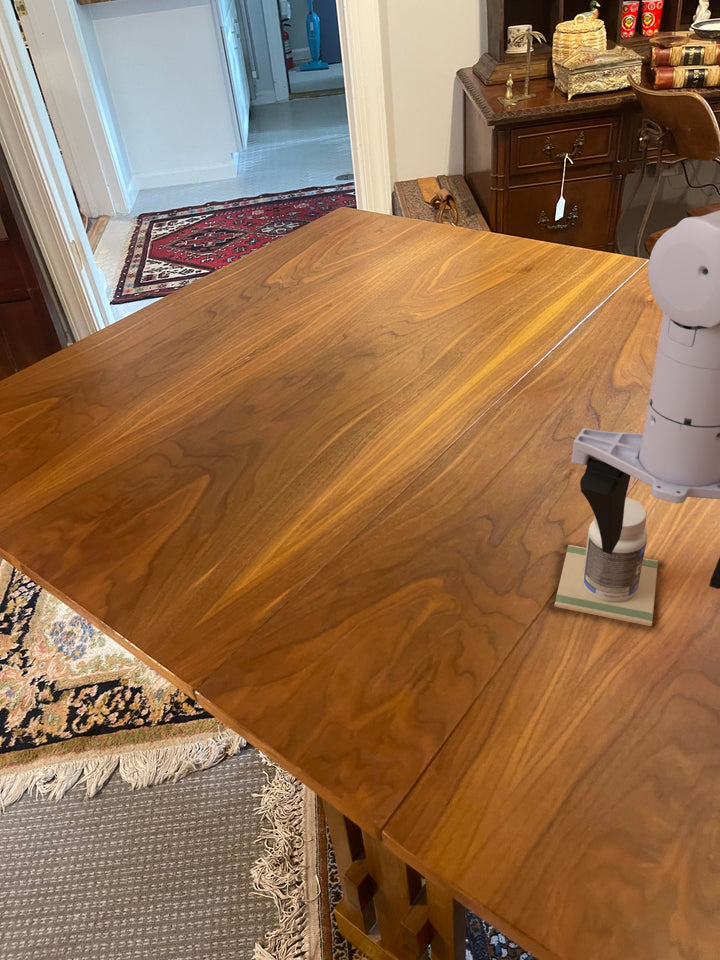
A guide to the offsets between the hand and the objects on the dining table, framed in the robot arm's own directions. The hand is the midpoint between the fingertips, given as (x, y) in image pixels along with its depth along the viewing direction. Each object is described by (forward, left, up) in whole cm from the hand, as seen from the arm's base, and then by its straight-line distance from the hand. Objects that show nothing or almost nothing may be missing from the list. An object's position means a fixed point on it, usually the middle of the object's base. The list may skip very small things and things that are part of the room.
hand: (662, 561), depth 54 cm
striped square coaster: (+5, -5, -9) cm, 12 cm away
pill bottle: (+5, -5, -9) cm, 11 cm away
